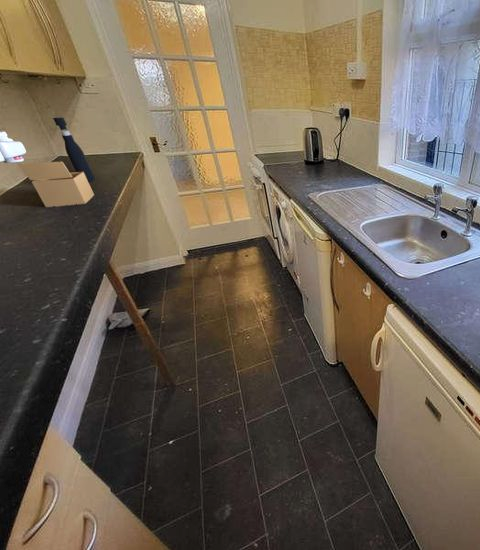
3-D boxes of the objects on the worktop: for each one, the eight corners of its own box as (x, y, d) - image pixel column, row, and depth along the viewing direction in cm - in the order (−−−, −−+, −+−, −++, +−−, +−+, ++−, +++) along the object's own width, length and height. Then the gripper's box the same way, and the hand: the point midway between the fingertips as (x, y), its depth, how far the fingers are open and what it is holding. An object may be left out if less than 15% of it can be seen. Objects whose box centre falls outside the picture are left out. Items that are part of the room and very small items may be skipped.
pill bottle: (21, 162, 106) (4, 132, 100) (0, 163, 103) (-19, 133, 98) (26, 159, 110) (10, 130, 104) (6, 160, 107) (-11, 131, 102)
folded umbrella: (98, 180, 160) (69, 117, 144) (83, 182, 155) (51, 118, 139) (93, 178, 163) (64, 117, 147) (79, 180, 158) (47, 117, 142)
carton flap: (72, 176, 121) (72, 177, 121) (30, 179, 116) (30, 180, 116) (62, 161, 116) (62, 161, 116) (18, 163, 111) (17, 164, 111)
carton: (85, 203, 127) (73, 178, 121) (46, 207, 122) (31, 181, 116) (94, 195, 138) (83, 171, 132) (58, 198, 133) (45, 174, 127)
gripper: (-65, 161, 93) (-20, 154, 105) (6, 161, 95) (42, 154, 107) (-80, 139, 90) (-32, 134, 102) (-6, 140, 92) (33, 135, 104)
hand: (7, 144), depth 104 cm, fingers closed on pill bottle, 5 cm apart
